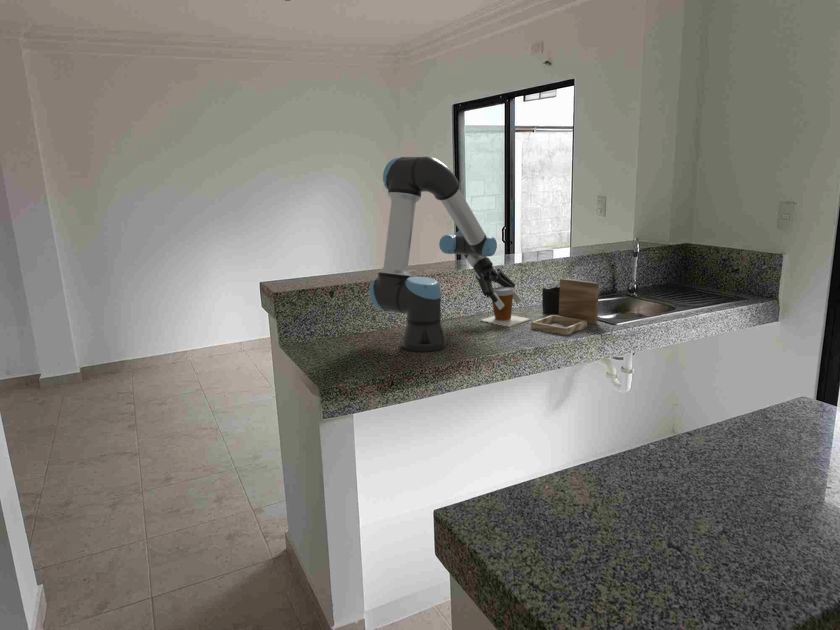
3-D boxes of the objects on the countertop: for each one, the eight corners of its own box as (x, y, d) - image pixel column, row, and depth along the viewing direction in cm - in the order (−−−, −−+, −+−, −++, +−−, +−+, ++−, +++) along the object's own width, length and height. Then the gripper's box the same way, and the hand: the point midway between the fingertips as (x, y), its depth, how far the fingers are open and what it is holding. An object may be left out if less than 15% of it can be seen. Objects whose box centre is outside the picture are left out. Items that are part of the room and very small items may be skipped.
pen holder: (545, 309, 260) (545, 286, 258) (567, 310, 256) (568, 287, 254) (538, 313, 252) (539, 290, 250) (561, 315, 248) (562, 291, 246)
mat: (509, 327, 232) (509, 325, 232) (480, 321, 242) (480, 319, 242) (529, 320, 242) (529, 318, 242) (501, 314, 252) (501, 313, 251)
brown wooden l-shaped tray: (567, 335, 219) (569, 292, 215) (529, 328, 230) (530, 286, 226) (596, 323, 235) (599, 283, 231) (560, 317, 245) (561, 278, 242)
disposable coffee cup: (488, 321, 240) (487, 291, 237) (493, 315, 248) (492, 286, 246) (512, 321, 236) (511, 290, 234) (517, 315, 245) (515, 286, 243)
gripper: (466, 259, 234) (498, 304, 228) (502, 253, 251) (533, 294, 244) (456, 272, 239) (487, 316, 233) (492, 264, 256) (522, 305, 249)
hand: (511, 305), depth 238 cm, fingers open, 11 cm apart
